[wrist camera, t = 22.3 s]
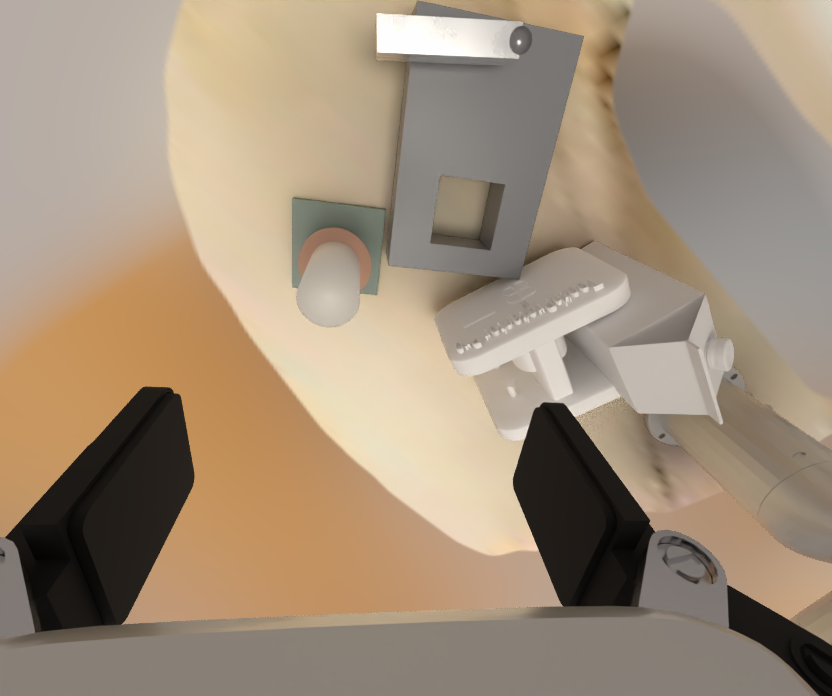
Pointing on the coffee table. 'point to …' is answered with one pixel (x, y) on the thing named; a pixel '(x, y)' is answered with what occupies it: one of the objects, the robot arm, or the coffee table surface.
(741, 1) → the coffee table surface
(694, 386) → the milk carton
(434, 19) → the clip
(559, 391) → the cable organizer
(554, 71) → the grey block with hole
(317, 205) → the mat
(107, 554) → the robot arm
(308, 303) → the plug
